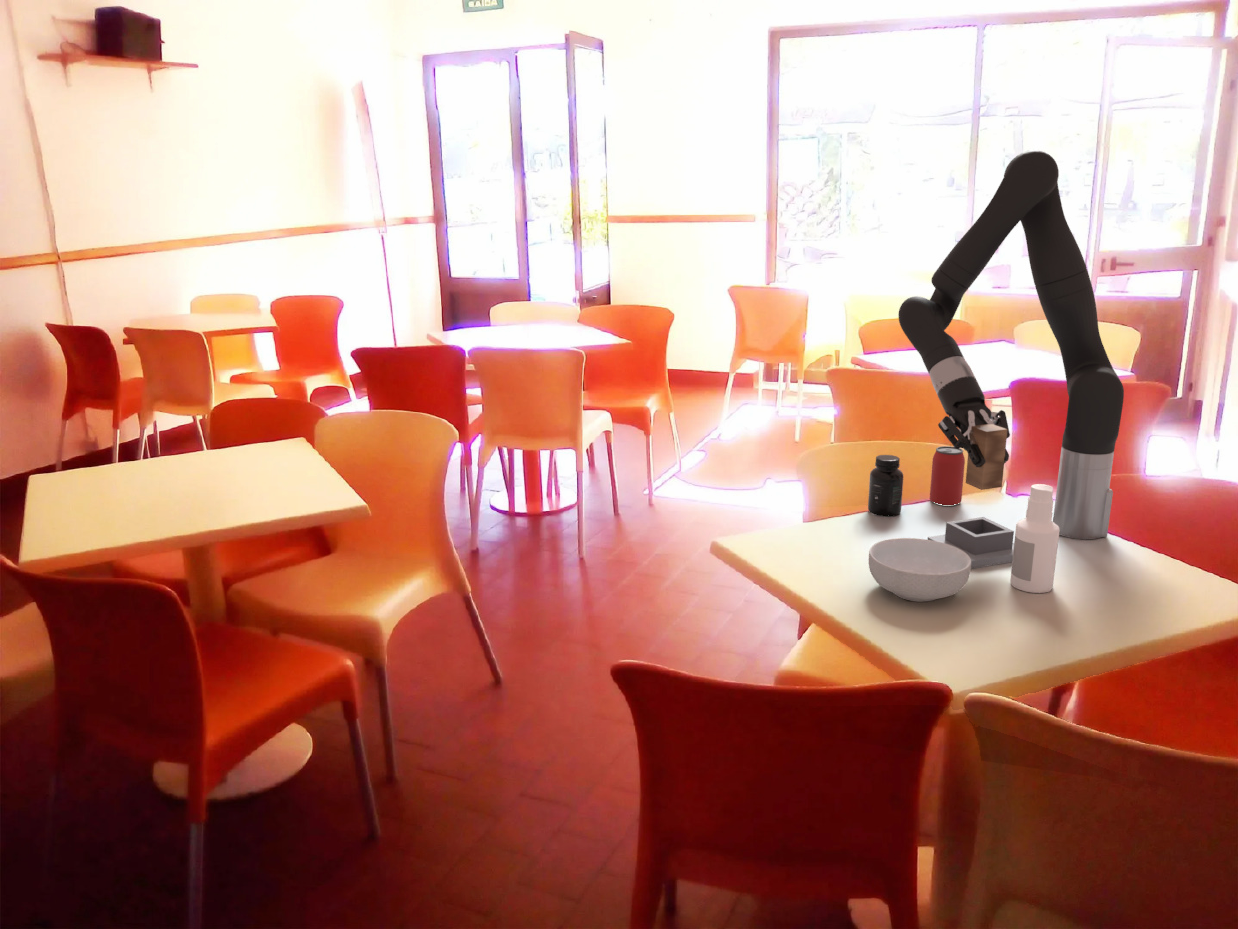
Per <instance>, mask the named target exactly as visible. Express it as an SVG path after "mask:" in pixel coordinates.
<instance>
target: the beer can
mask: <svg viewBox="0 0 1238 929" xmlns="http://www.w3.org/2000/svg"><path fill="white" fill-rule="evenodd" d="M931 462H932V463H931V464H932V465H931V473H930V474H931V475H930V476H931V477H930V487H929V488H930V489H929V500H930V502H931V503H933V502H935V503H938V504H942V505H954V504H958V503H962V500H963V499H962V498H963V488H964V487H963V486H964V478H965V476H964V474H965V464H966V460H965V455H964V449H963V448H959V449H956V448H955V447H954V446H948V445H946V446H943V445H942V446H938V447H936V448H935V453H934V454H933V456H932V461H931ZM958 505H959V504H958Z"/></svg>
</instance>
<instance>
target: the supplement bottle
mask: <svg viewBox="0 0 1238 929" xmlns="http://www.w3.org/2000/svg"><path fill="white" fill-rule="evenodd" d="M900 460H901V459H900V457H898V456H897V455H892V454H880V455H877V456H876V457H875V463H874V465H875V467H874V468H872V470H871V471H870V474H869V482H868V486H869V487H868V501H867V502H868V503H867V509H868V512H869V513H871V514H872V515H874V516H878V517H896V516H898V515H899V514H901V512H902V505H903V504H902V503H903V491H904V488H903V487H904V474H903V471H902V470H901V469H899V468H900V466H901V464H900Z"/></svg>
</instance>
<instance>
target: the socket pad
mask: <svg viewBox="0 0 1238 929" xmlns="http://www.w3.org/2000/svg"><path fill="white" fill-rule="evenodd" d="M1014 532H1015V531H1014V530H1012V529H1010V528H1008V527H1005V525H1004V526H1003V525H1002V524H1000V523H998V522H995V521H993V520H991V519H989V518H987V517H985V516H982V517H981V516H980V517H973V518H967V519H966V518H965V519H961V520H954V521H953V520H952V521H947V522H946V523H945V534H940V535H933V536H927V540H932V541H937V542H941V543H945V544H949V545H951V546H954V547H956V548H959V549H960V550H962V551H964V552H965V553H966V554H967V555H968V556H969V557H970V559H971V570H972V569H977V568H983V567H989V566H995V565H996V566H997V565H1001V564H1009V563H1012V560H1013V550H1014V536H1015V533H1014Z"/></svg>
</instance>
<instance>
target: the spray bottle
mask: <svg viewBox="0 0 1238 929" xmlns="http://www.w3.org/2000/svg"><path fill="white" fill-rule="evenodd" d="M1053 494H1054V487H1053V486H1051V485H1049V484H1044V483H1042V484H1041V483H1036V484H1032V485H1031V486H1030V495H1029V497H1028V499H1027V500H1028V501H1027V508H1026V512H1025V518H1023V519H1020V520H1018V521H1017V522H1016V524H1015V531H1014V532H1015V533H1014V540H1013V543H1014V550H1013V560H1012V562H1011V571H1010V581H1009V582H1010V584H1011V586H1012V587H1013V588H1015V589H1017V590H1019V591H1022V592H1026V593H1031V594H1032V593H1033V594H1043V593H1048V592H1050V591H1051V590H1052V589H1053V588H1054V580H1055V571H1056V564H1057V554H1058V548H1059V539H1060V534H1059V531H1060V530H1059V526H1058V525H1056V524H1055V523H1054V522H1053V509H1054V508H1053V507H1054V506H1053V505H1054V499H1053Z"/></svg>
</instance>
